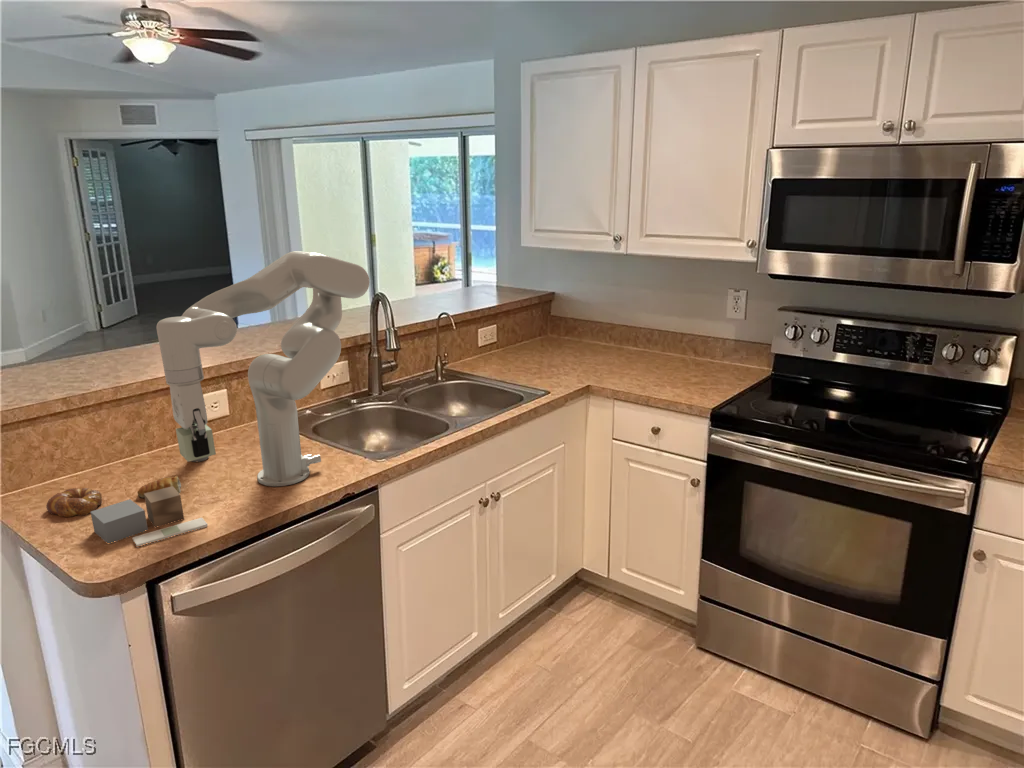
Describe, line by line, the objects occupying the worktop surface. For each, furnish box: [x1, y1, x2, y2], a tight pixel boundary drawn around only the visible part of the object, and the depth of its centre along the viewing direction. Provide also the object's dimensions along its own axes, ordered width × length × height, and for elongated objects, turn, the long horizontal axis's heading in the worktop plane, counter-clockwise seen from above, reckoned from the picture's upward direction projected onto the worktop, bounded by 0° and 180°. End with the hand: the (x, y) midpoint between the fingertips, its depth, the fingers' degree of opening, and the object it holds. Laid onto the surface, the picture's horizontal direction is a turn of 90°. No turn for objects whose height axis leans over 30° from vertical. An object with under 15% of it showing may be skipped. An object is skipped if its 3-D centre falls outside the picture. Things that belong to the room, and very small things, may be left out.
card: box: [131, 517, 209, 547], centre depth 150 cm, size 14×4×1 cm, turn 129°
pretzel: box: [46, 487, 103, 518], centre depth 162 cm, size 12×11×4 cm
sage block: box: [175, 424, 217, 462], centre depth 158 cm, size 6×6×6 cm
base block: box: [90, 498, 149, 544], centre depth 151 cm, size 8×8×5 cm
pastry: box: [137, 475, 182, 499], centre depth 169 cm, size 9×7×4 cm
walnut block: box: [144, 486, 185, 528], centre depth 156 cm, size 6×6×6 cm
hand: (197, 450), depth 158 cm, fingers closed on sage block, 6 cm apart
